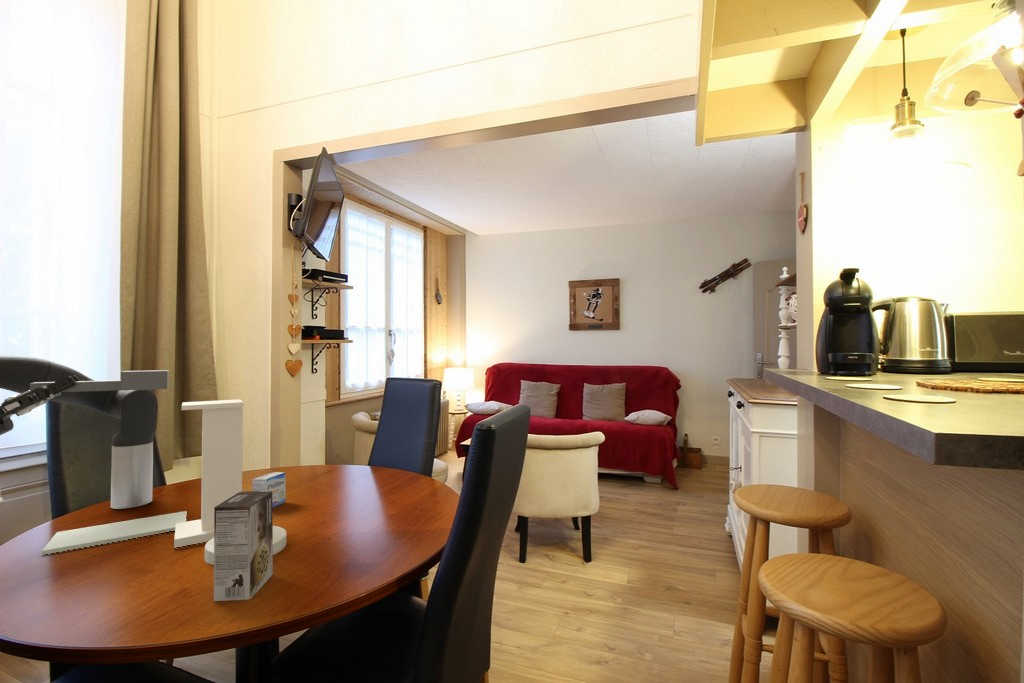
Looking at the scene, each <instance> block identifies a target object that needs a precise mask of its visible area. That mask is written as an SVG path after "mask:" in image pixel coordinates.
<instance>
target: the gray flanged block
mask: <svg viewBox="0 0 1024 683" xmlns="http://www.w3.org/2000/svg"><path fill="white" fill-rule="evenodd" d="M75 382H76V385H75V386H73V387H71V388H69V389H67V390H64V391H62V392H81V391H109V390H120V391H123V390H150V391H152V390H168V389H169V387H170V383H169V382H170V370H169V369H162V370H159V369H158V370H124V371H120V379H119V380H118V379H117V380H111V379H110V380H95V381H75ZM52 383H54V382H35V383H30V390H35V389H36V388H40V387H42V386H46V385H47V386H48V385H50V384H52ZM48 387H49V386H48Z"/></svg>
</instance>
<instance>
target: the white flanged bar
mask: <svg viewBox="0 0 1024 683" xmlns="http://www.w3.org/2000/svg"><path fill="white" fill-rule="evenodd" d="M243 407H244V401H243V400H241V399H237V398H236V399H222V400H221V399H220V400H204V401H202V400H201V401H186V402H185V401H184V402H182V404H181V411H189V410H190V411H191V410H193V411H194V410H202V411H201V412H202V414H201V416H202V417H201V418H202V420H201V423H202V426H201V429H202V430H201V439H202V440H201V497H200V498H201V499H200V500H201V503H200V504H201V506H200V507H201V509H200V511H201V512H200V514H201V515H200V516H201V517H200V519H195V520H190V521H189V520H188V521H187V520H186V522H182V523H176V528H175V532H174V539H173V542H174V543H173V546H174V547H173V549H174V548H176V547H181V548H183V547H182V546H186V545H191V544H196V545H198V544H197V543H201V544H203V543H202V542H206V543H207V541H210V540H211V539H212V538H214V507H216V506H217V505H219V504H221V503H222V502H224V501H225V500H227V499H229V498H230V497H232V496H234V495H235V494H237V493H238V492H243V425H244V424H243V422H244V421H243V420H244V419H243V415H244V414H243V410H244V408H243ZM191 546H192V545H191ZM186 547H187V546H186ZM176 549H177V548H176Z"/></svg>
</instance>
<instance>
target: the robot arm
mask: <svg viewBox="0 0 1024 683" xmlns="http://www.w3.org/2000/svg"><path fill="white" fill-rule="evenodd" d="M75 381H96V380H94V379H92V378H90V377H88V376H87V375H85V374H84V373H82V372H80V371H77V370H76V369H74V368H71V367H69V366H66V365H63V364H60V363H56V362H55V361H52V360H51V361H50V360H47V359H45V358H42V357H41V358H40V357H34V356H23V355H22V356H21V355H0V389H2V390H6V391H10V392H13V393H14V392H15V393H18V394H17V395H12V396H10V397H8V398H5V399H4V400H3V402H2V403H1V404H0V436H1V435H4V434H6V433H8V432H11V431H12V430H13V429H14V425H15V424H14V422H13V420H12V419H11V417H13V415H15V416H17V417H20V416H23V415H25V414H28V413H30V412H32V410H34V409H36V408H38V407H40V406H43V405H44V404H47V403H48V402H49V401H50V402H55V403H61V404H66V405H67V404H68V405H74V406H80V407H84V408H88V409H90V410H93V411H97V412H99V413H103V414H105V415H107V416H110V417H113V418H116V419H118V420H120V422H119V424H120V425H119V430H118V432H117V433H115V434H113V436H112V437H111V473H110V474H111V476H110V480H111V481H110V508H111V509H115V510H122V509H123V510H125V509H131V508H136V507H141V506H145V505H148V504H149V503H151V502H153V487H154V486H153V485H154V484H153V481H154V480H153V477H154V475H153V473H154V470H153V469H154V468H153V467H154V436H155V434H156V432H157V427H158V416H159V413H158V412H159V400H158V397H157V395H156V394H155V393H154V392H153V390H123V391H120V390H109V391H81V392H62V391H64V390H67V389H69V388H71V387H73V386H75V385H76V382H75ZM35 382H54V383H52V384H50V385H48V386H49V387H48V386H47V385H46V386H42V387H40V388H36V389H35V390H30V383H35Z"/></svg>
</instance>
